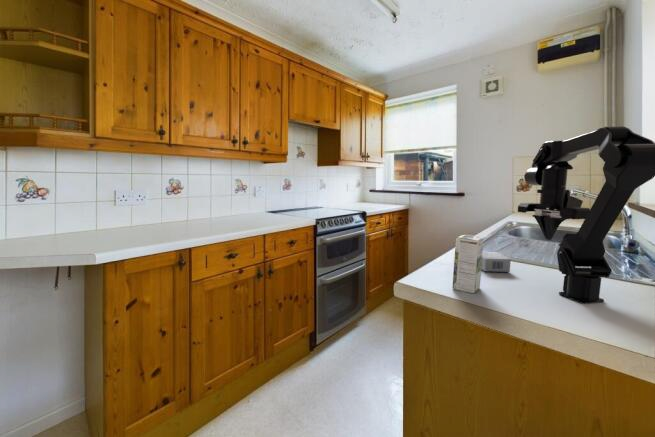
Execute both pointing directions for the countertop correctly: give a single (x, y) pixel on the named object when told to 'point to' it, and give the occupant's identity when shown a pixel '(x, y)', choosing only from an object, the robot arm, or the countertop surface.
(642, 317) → the countertop surface
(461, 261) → the syrup box
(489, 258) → the medicine box
